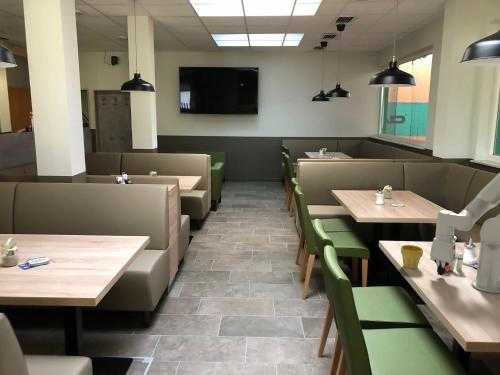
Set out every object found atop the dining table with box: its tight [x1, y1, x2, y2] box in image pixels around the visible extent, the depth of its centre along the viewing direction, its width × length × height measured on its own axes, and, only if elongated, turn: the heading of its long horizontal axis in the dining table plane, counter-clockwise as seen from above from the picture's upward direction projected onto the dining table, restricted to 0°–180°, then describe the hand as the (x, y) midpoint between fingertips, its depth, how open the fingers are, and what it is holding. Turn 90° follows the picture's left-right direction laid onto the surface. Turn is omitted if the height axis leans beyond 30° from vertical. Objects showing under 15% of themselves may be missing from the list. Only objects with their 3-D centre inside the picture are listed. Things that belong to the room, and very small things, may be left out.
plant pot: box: [400, 244, 424, 270], centre depth 204 cm, size 10×10×10 cm
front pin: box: [448, 253, 458, 271], centre depth 200 cm, size 2×2×8 cm
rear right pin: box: [455, 252, 464, 272], centre depth 200 cm, size 2×2×8 cm
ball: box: [436, 261, 451, 272], centre depth 199 cm, size 6×6×6 cm
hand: (440, 274), depth 192 cm, fingers closed
